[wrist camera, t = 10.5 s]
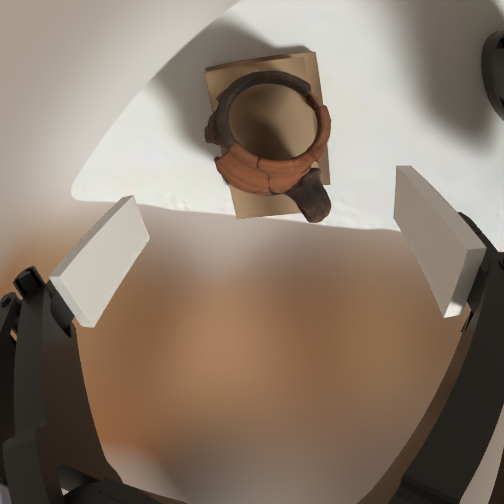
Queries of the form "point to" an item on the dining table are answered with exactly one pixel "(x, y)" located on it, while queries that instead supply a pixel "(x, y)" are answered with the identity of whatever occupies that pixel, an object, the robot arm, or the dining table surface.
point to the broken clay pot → (266, 170)
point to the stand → (270, 122)
